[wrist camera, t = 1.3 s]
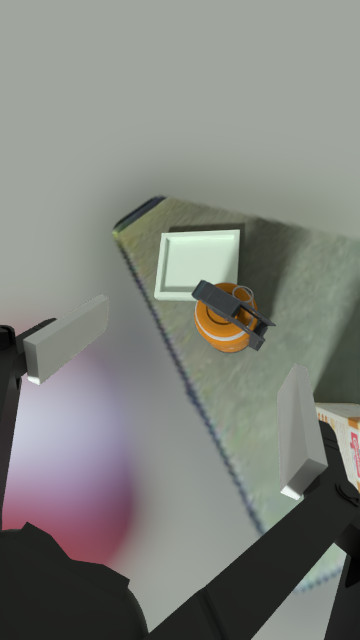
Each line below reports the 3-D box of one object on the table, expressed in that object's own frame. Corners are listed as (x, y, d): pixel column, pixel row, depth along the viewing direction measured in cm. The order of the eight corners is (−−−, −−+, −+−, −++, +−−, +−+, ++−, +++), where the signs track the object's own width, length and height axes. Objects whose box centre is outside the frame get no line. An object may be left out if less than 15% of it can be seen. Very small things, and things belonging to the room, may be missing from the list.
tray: (239, 236, 51) (239, 229, 49) (236, 302, 49) (235, 298, 46) (165, 239, 55) (162, 233, 53) (158, 300, 53) (154, 296, 50)
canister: (222, 298, 49) (210, 250, 31) (274, 328, 46) (295, 295, 27) (197, 336, 49) (168, 311, 30) (247, 369, 46) (249, 364, 27)
